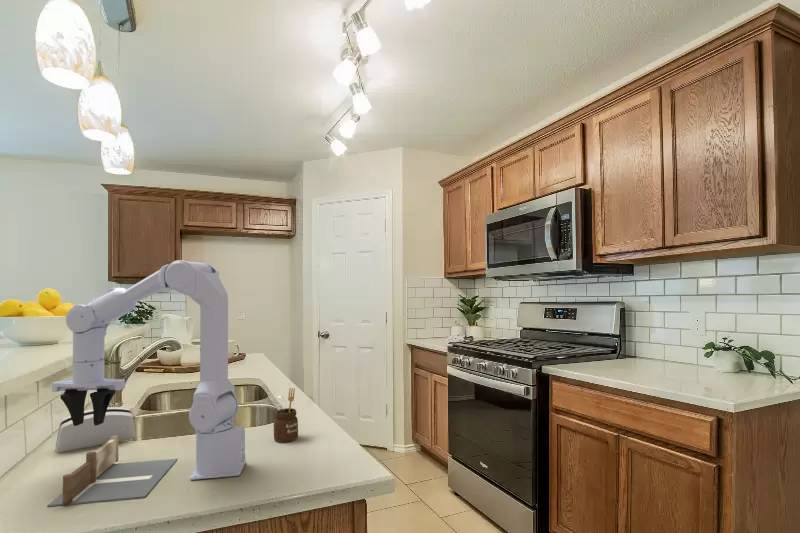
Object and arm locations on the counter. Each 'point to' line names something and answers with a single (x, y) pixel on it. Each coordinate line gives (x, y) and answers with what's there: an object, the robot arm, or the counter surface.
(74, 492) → the fence post and rail
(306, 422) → the counter surface
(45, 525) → the counter surface
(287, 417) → the utensil holder
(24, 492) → the counter surface
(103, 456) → the fence panel
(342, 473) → the counter surface
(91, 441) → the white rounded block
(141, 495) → the mat
